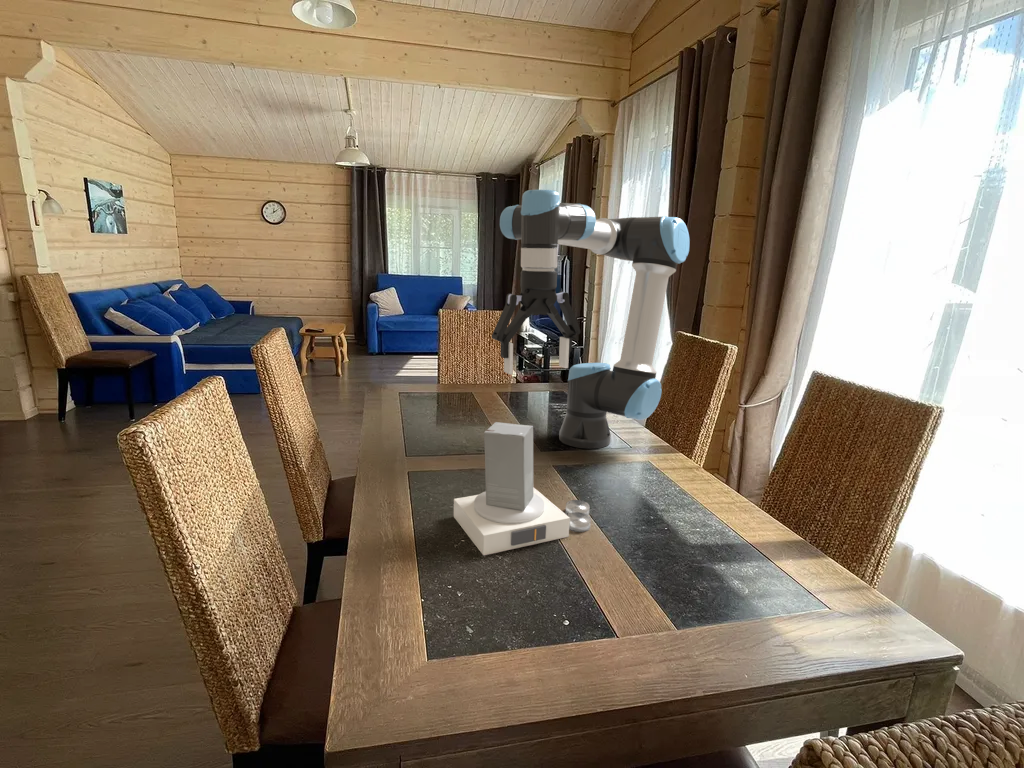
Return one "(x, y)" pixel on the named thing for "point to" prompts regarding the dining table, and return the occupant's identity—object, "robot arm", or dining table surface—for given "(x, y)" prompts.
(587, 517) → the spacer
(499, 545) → the scale
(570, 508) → the spacer
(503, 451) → the skincare box
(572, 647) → the dining table surface
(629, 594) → the dining table surface
